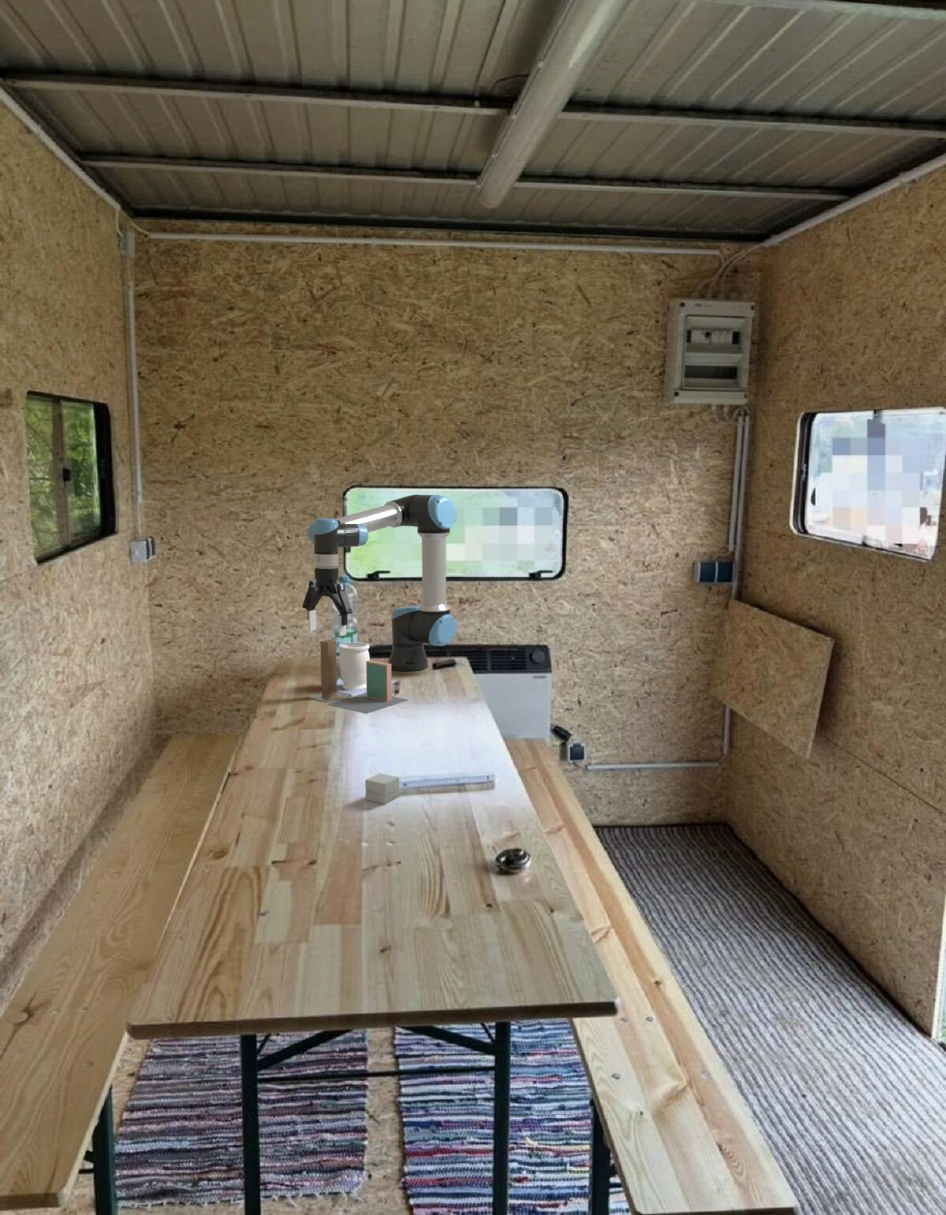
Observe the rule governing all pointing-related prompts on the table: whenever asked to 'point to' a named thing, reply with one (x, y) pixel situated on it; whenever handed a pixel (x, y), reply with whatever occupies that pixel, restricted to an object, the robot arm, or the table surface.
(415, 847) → the table surface
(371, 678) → the terracotta tile
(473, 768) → the table surface
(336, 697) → the tall wooden post
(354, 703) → the slate rubber mat
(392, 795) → the small box
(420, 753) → the table surface
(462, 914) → the table surface
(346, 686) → the jar
